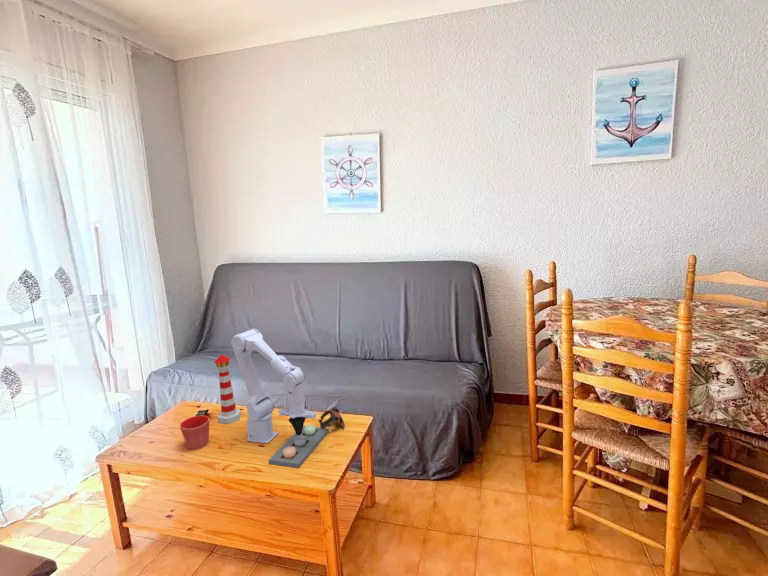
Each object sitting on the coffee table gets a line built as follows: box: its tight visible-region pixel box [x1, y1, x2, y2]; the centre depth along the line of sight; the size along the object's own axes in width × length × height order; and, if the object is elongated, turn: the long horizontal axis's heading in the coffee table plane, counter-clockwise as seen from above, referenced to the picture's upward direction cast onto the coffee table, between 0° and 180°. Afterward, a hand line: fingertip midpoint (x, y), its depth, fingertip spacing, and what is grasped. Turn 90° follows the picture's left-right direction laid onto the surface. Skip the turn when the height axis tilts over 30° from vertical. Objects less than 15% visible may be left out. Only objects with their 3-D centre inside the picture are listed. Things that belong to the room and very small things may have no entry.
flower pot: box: [179, 414, 210, 450], centre depth 164 cm, size 11×11×10 cm
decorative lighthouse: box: [213, 354, 242, 425], centre depth 182 cm, size 10×9×30 cm
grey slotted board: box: [268, 425, 330, 469], centre depth 158 cm, size 12×25×2 cm, turn 163°
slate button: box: [294, 435, 306, 447], centre depth 158 cm, size 4×4×3 cm
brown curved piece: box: [318, 407, 345, 430], centre depth 173 cm, size 12×10×8 cm
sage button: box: [304, 424, 316, 436], centre depth 166 cm, size 4×4×3 cm
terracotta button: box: [283, 446, 296, 460], centre depth 151 cm, size 4×4×3 cm
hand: (299, 434), depth 158 cm, fingers closed
